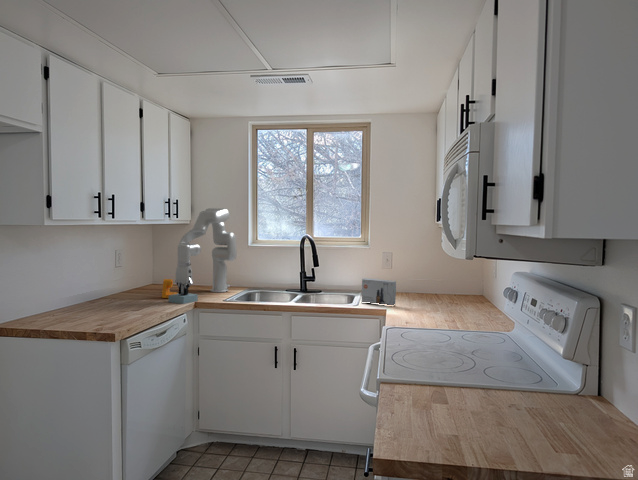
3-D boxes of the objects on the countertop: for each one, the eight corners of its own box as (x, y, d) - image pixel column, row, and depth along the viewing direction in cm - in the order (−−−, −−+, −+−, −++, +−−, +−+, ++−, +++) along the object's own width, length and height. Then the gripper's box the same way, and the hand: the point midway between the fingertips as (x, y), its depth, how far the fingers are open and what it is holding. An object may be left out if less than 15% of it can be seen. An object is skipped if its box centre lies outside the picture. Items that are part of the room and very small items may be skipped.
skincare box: (360, 303, 270) (361, 278, 269) (364, 302, 274) (364, 277, 274) (393, 307, 260) (393, 281, 259) (395, 306, 265) (396, 280, 264)
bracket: (173, 299, 268) (173, 280, 267) (161, 299, 267) (162, 280, 267) (177, 296, 278) (178, 278, 278) (166, 296, 278) (166, 277, 277)
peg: (183, 299, 263) (183, 283, 263) (186, 299, 262) (187, 283, 262) (179, 300, 261) (179, 283, 260) (183, 300, 259) (183, 284, 259)
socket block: (182, 298, 269) (183, 292, 269) (197, 300, 264) (197, 294, 264) (168, 301, 258) (168, 295, 258) (183, 303, 253) (183, 297, 253)
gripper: (198, 264, 260) (198, 294, 261) (178, 263, 267) (177, 292, 268) (189, 265, 253) (189, 296, 254) (169, 264, 261) (168, 293, 261)
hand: (183, 293), depth 261 cm, fingers open, 3 cm apart
